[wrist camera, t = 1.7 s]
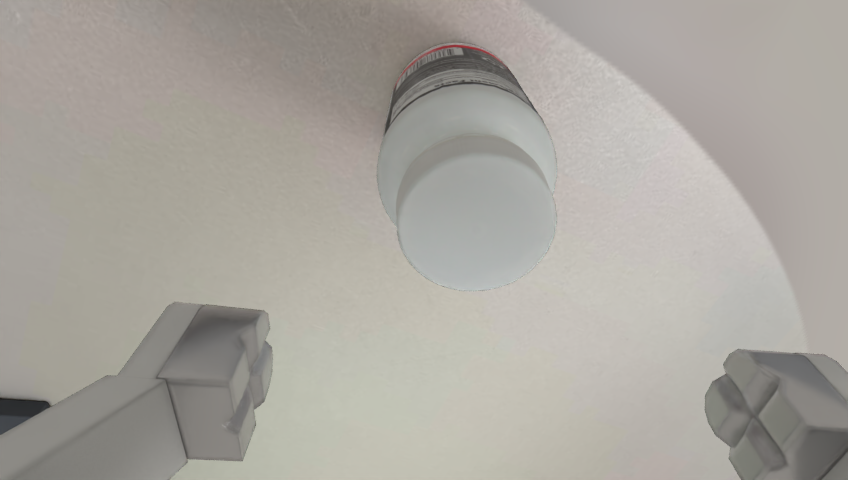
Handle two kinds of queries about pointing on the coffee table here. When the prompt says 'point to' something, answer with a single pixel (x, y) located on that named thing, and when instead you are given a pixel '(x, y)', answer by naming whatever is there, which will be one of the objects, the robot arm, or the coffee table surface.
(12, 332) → the coffee table surface
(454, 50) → the pill bottle
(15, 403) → the rack
